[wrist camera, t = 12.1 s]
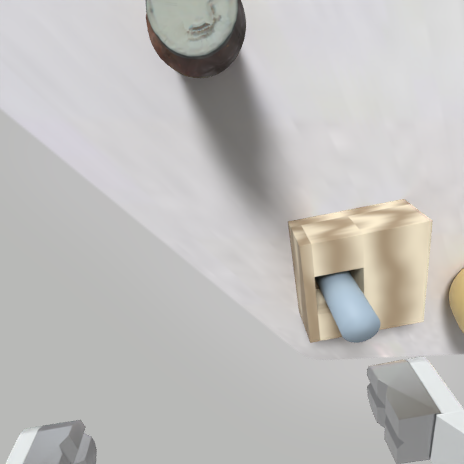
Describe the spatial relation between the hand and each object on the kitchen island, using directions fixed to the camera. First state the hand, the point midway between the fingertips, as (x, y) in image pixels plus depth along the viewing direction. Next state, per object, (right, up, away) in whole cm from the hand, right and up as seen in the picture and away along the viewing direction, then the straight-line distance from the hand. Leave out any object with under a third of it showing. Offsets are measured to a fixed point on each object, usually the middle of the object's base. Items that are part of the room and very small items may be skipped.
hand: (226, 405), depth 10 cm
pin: (+12, 0, +34) cm, 36 cm away
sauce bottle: (-3, +23, +23) cm, 33 cm away
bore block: (+15, +1, +36) cm, 39 cm away
